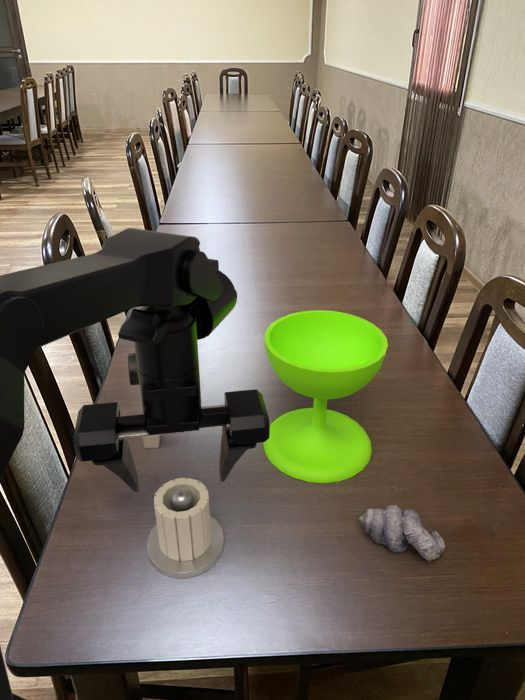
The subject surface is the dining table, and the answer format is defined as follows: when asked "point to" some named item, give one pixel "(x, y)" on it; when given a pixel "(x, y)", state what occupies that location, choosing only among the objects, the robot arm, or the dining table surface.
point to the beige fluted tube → (183, 521)
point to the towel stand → (178, 569)
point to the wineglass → (322, 392)
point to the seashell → (401, 531)
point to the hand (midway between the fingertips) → (179, 483)
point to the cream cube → (151, 441)
